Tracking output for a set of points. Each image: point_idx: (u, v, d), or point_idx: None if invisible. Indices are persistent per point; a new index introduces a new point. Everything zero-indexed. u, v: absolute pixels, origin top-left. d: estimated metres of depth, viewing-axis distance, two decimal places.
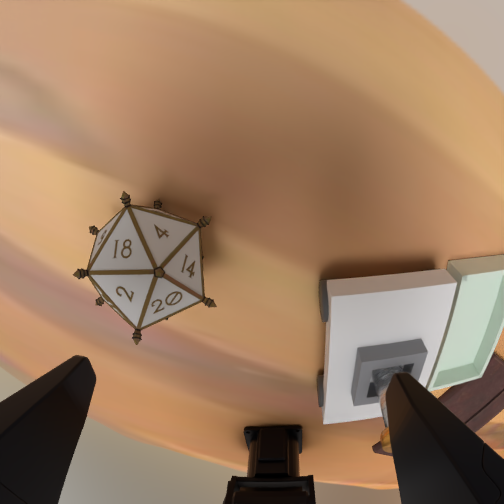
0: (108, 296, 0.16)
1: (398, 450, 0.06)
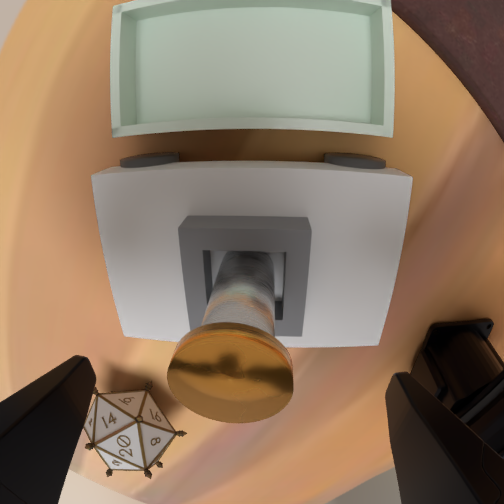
0: (122, 469, 0.19)
1: (398, 450, 0.06)
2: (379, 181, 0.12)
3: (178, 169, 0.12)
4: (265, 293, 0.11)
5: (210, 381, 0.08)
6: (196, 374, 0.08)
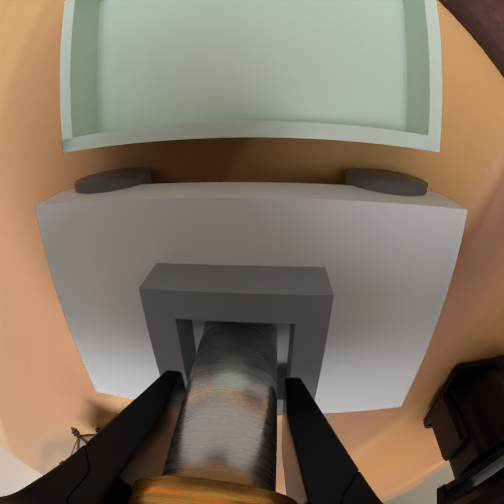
0: None
1: (284, 460, 0.06)
2: (426, 216, 0.08)
3: (140, 199, 0.08)
4: (263, 391, 0.07)
5: None
6: None
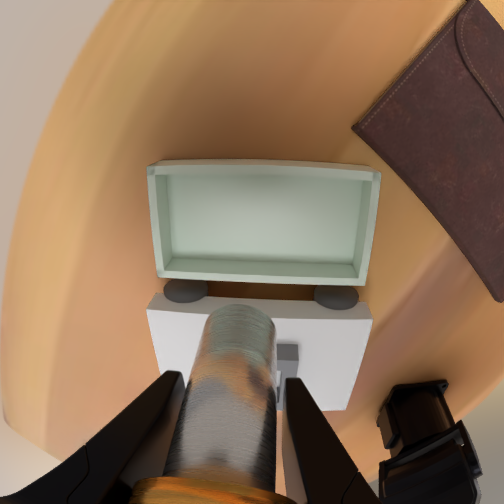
0: None
1: (284, 460, 0.06)
2: (348, 323, 0.18)
3: None
4: (263, 392, 0.07)
5: None
6: None
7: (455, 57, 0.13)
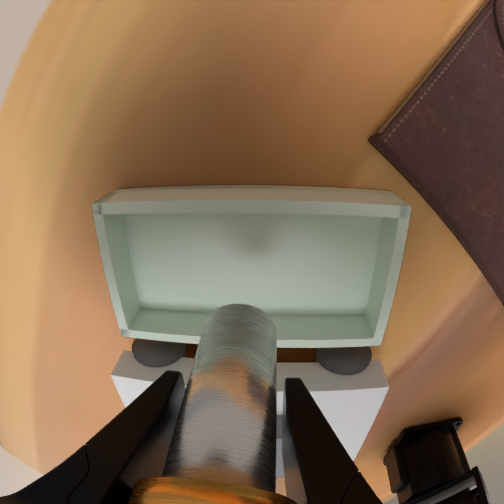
0: None
1: (284, 460, 0.06)
2: (358, 393, 0.13)
3: None
4: (263, 392, 0.07)
5: None
6: None
7: (497, 49, 0.09)
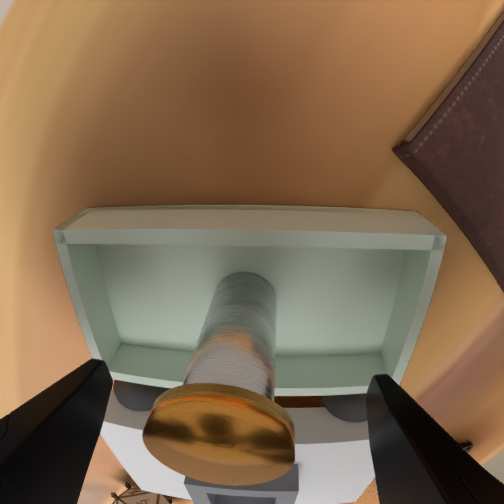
0: None
1: (376, 453, 0.06)
2: None
3: None
4: (264, 334, 0.09)
5: (194, 448, 0.06)
6: (176, 440, 0.06)
7: None
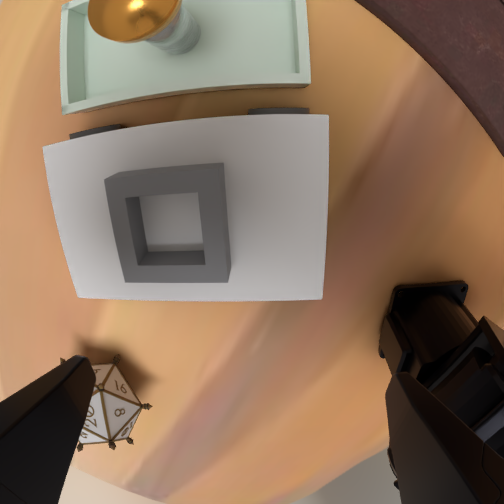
0: (90, 442, 0.19)
1: (398, 450, 0.06)
2: (292, 121, 0.12)
3: (109, 131, 0.13)
4: None
5: None
6: None
7: None
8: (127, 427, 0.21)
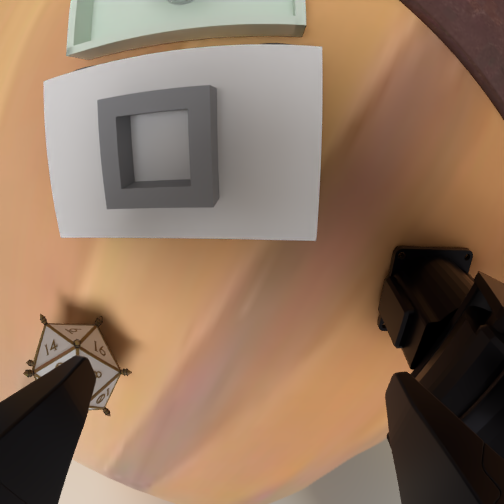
0: None
1: (398, 450, 0.06)
2: (285, 51, 0.11)
3: (108, 62, 0.12)
4: None
5: None
6: None
7: None
8: (103, 393, 0.20)
